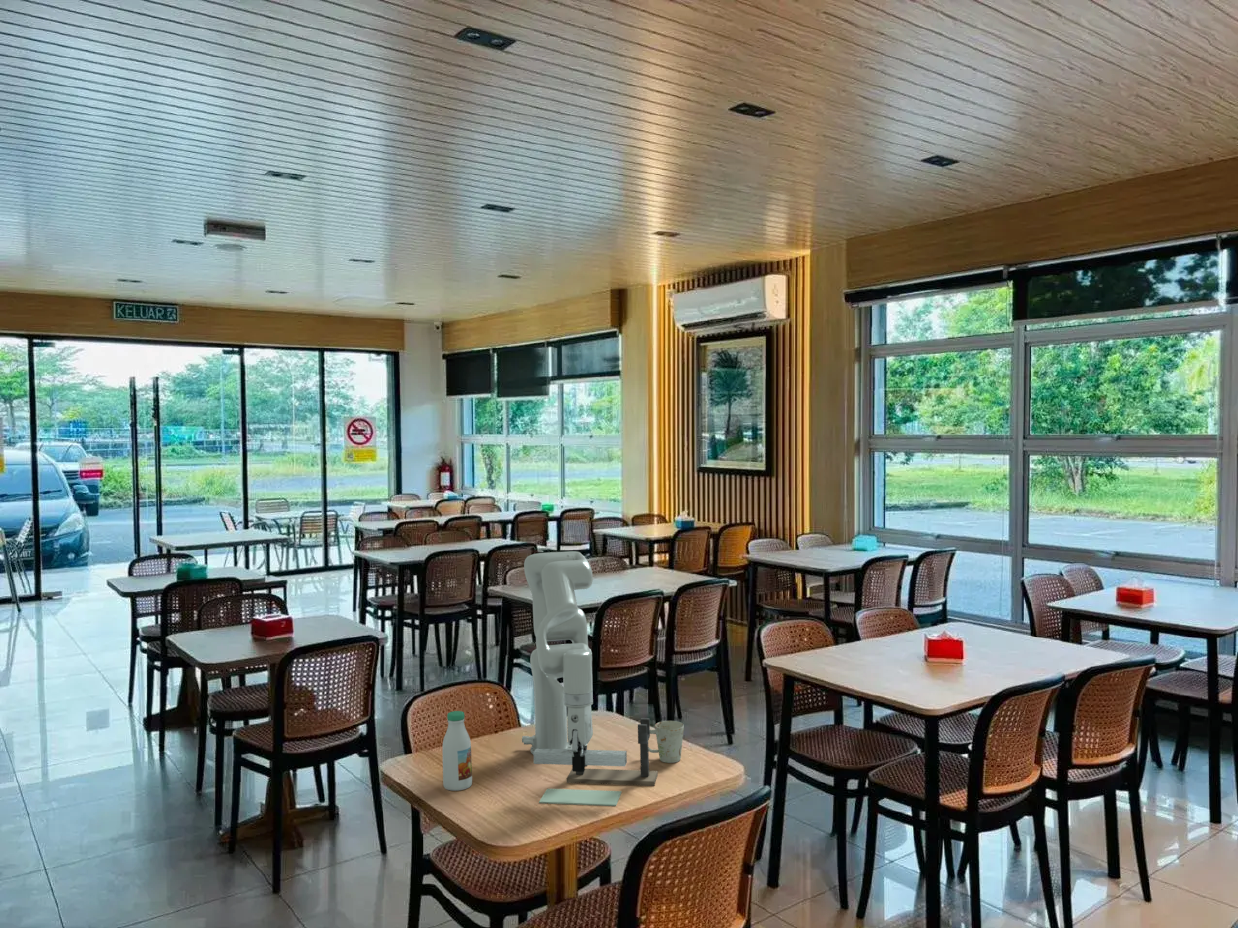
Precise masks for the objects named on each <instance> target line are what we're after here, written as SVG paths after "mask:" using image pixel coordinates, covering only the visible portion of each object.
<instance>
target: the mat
mask: <svg viewBox="0 0 1238 928" xmlns="http://www.w3.org/2000/svg"><path fill="white" fill-rule="evenodd" d="M622 793H623V792H622V790H600V789H598V790H597V789H596V790H595V789H594V790H593V789H572V788H571V789H570V788H569V789H567V788H566V789H565V788H546V790H545V792H544V793H543V795H542V797H540V800H539V802H538V803H539V804H547V803H548V805H549V804H550V805H551V804H553V805H576V806H581V805H582V806H599V807H600V806H602V807H617V805H618V802H619V800H620V798H621V795H622Z"/></svg>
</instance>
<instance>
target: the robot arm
mask: <svg viewBox="0 0 1238 928" xmlns="http://www.w3.org/2000/svg"><path fill="white" fill-rule="evenodd" d="M523 567H524V568H523V570H524V576H525V580H526V582H527V585H528V587H529V590H530V593H531V597H532V598H531V599H532V615H533V616H532V617H533V630H534V636H535V645H536V648H535V649H534V650H532V652H531V654H530V658H529V660H530V661H529V663H530V669H531V673H532V680H533V693H534V694H533V696H534V697H533V699H534V730H535V735H534V734H533V735H532V736H529V735H522V737H521V743H523V745H525V746H527V745H531V747H530V753H531V754H532V756H534V754H533V752H534V751H535V750H536V749H572V765H571V767H572V768H571V770H572V771H574V772H584V771H585V769H586V768H587V767H588V765H585V756H583V750H588V745H589V743H590V741H591V739H592V738H593V733H594V730H593V717H592V705H593V704H594V699H593V698H594V697H593V695H594V694H593V652H592V650H591V648H590V647H589V639H588V623H587V618H586V614H585V612H584V611H583V609H581V608H579V607H578V602H577V599H576V598H577V597H576V592H575V591H576V590H577V591H579V590H587V589H589V588H590V587H592V585H593V580H594V578H593V570H592V567H591V564H590V563H589V561H588V559H587V558H586V557H585V556H584V555H583V554H582V553H581V552H580V551H576V550H575V551H572V550H571V551H552V552H550V551H548V552H539V553H533V554H530V555H528V556H526V558H525V559H524V563H523ZM568 640H570V641H571V642H572V643H564V644H561V643H560V644H550V645H549V644H548V642H554V641H568ZM560 678H562V679H563V680H562V681H563V684H561V682H559V680H558V679H560Z"/></svg>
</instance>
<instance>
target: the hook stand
mask: <svg viewBox="0 0 1238 928" xmlns="http://www.w3.org/2000/svg"><path fill="white" fill-rule="evenodd" d="M650 722H651V721H650V717H649V718H647V717H641V718H640V723H638V724H637V744H639V751H640V752H639V754H640V755H639V756H640V760H639V761H640V763H639V764H640V769H615V768H614V769H612V768H611V769H608V768H585V771H584V772H574V771H572V769H571V770H570V772H569V773H568V775H567V777H566V779H565V780H566V783H567V784H587V785H588V784H589V785H611V786H612V785H617V786H641V787H642V786H643V787H644V786H645V787H646V786H647V787H648V786H649V787H654V786H655V784H656V781H657V778H658V773H659V772H658V770H650V762H649V761H650V756H649V755H650V754H649V753H650V752H649V750H648V747H649V739H650V737H651V734H650V730H651V729H650V728H651V725H650V724H651V723H650Z"/></svg>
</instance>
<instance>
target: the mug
mask: <svg viewBox="0 0 1238 928" xmlns="http://www.w3.org/2000/svg"><path fill="white" fill-rule="evenodd" d="M684 730H685V727H684V723H682V722H680V721H677V720H664V721H659V722H657V723H655V724H654V729H650V735H655V737H656V743H657V744H656V745H657V749H651V748H650V747H649V746H648V750H649V753H653V754H658V755H659V761H661V762H662V763H666V764H667V763H668V764H673V763H678V762H680V761H681V758H682V749H683V738H684Z"/></svg>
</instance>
